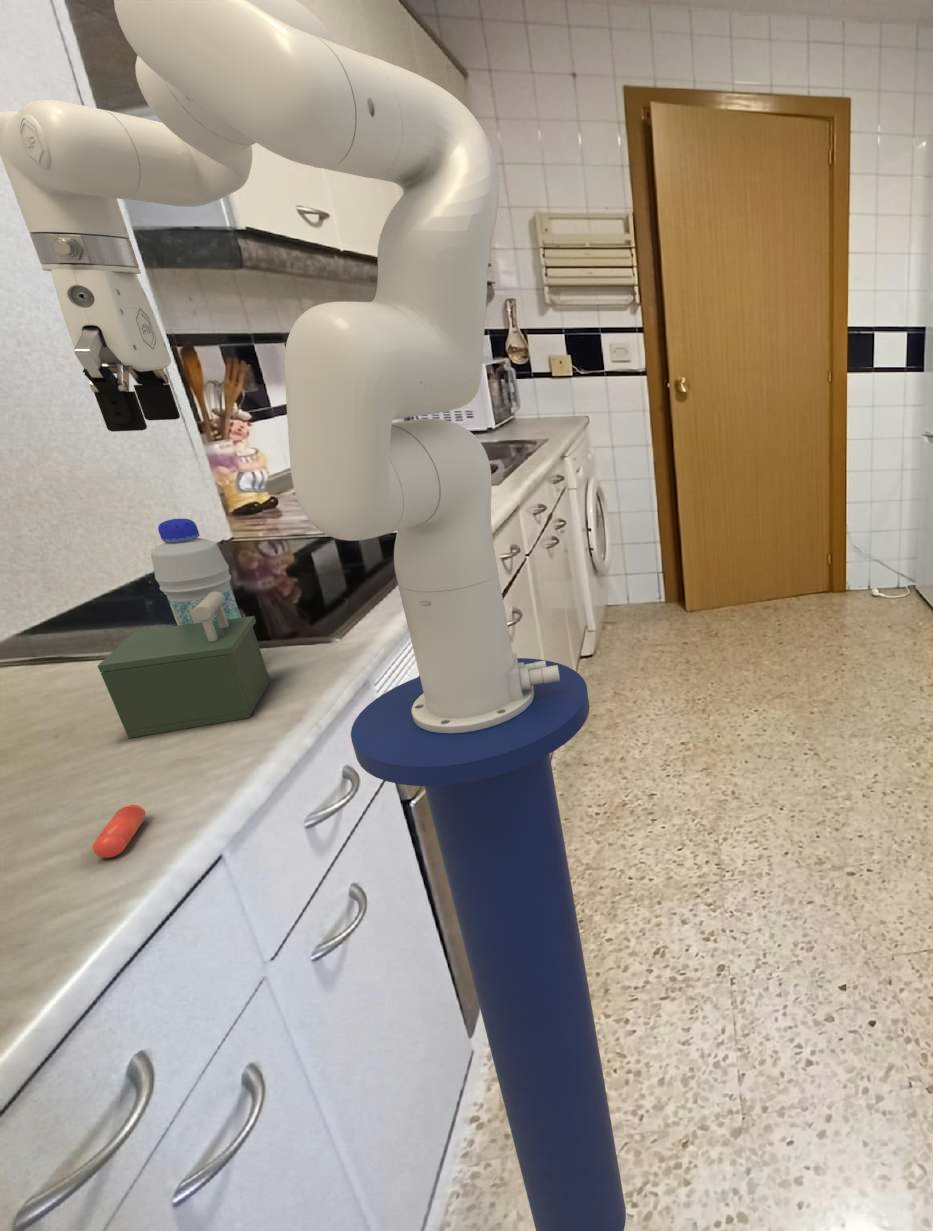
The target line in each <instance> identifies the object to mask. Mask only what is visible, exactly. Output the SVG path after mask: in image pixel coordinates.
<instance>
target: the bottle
mask: <svg viewBox="0 0 933 1231" xmlns="http://www.w3.org/2000/svg"><path fill="white" fill-rule="evenodd" d="M157 531H158V534H159V536H160V539H161V541H162V542H163V543H162V544H159V545H158V546H157V547H155V548H154V549H153V550H151V552H150V557H151V561H152V568H153V572H154V579H155V580H156V582H157V584H158V585H159V590H160V591H161V592H162V593H164V594H165V596H166V599H167V600H168V603H169V604H168V605H169V606H170V608H171V611H172V614H173V617H174V620H175V622H176V626H179V625H187V624H195V623H202V621H201V620H199V619H197V618H195V617H194V616H193V610H194V609H195V608H196V606H197V605H198V604H199V603H200V602H201V601H202V600H203V599H204V598H205V597H206V596H207V595H208V594H209V593H211V592H220V593H222V594H223V595H224V596H225V602H224V603H223V604H222V607H223V610H224V612H225V615H226V618H227V619H234V618H242V616H241V613H240V609H239V606H238V604H237V600H236V598H235V594H234V592H233V589H232V586H231V579H232V575H231V574H230V568H229V567H230V566H229V564H228V563H227V560H226V559H225V557H224V556H223V554H222V551H221V550H220V547H219V545H218V544H217V543H216V542H215V541H213V540H210V539H205V538H201V537H200V532H199V529H198V526H197V524H196V522H195V521H193V520H192V519H189V518H172V519H167V520H164V521H162V522H161V523H159V524H158V528H157ZM211 620H212V621H217V618H216V615H215V613H214V614H213V615H212V616H211Z"/></svg>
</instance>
